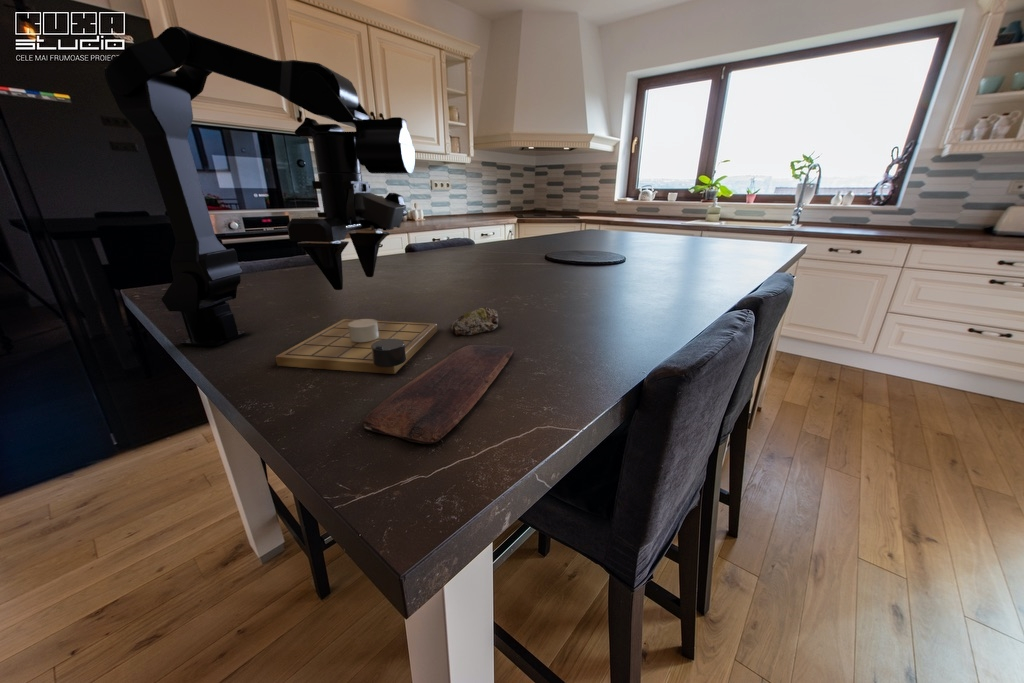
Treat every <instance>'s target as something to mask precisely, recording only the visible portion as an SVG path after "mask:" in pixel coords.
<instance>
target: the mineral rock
mask: <svg viewBox="0 0 1024 683" xmlns="http://www.w3.org/2000/svg"><path fill="white" fill-rule="evenodd" d="M499 323H500V322H499V315H498V311H497V310H496V309H493V308H491V309H490V308H489V307H484V308H483V307H478V308H476V309H474V310H473V311H467V312H465V313H463V315H461V316H459V317H458V318H457V319H455V321H453V322H452V324H451V325H450V328H451V332H452V333H453V334H455V336H472V335H478V334H480V333H485V332H492V331H495V330H496V328H498V325H499Z"/></svg>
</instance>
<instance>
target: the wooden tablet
mask: <svg viewBox="0 0 1024 683" xmlns="http://www.w3.org/2000/svg"><path fill="white" fill-rule="evenodd" d="M513 354H514V347H512V346H505V345H504V346H503V345H485V344H468V345H465V346H463V347H461V348H459V349H457V350H455V351H453V352H452V353H450V354H449V355H448V356H446V357H444V359H442V360H440V361H439V362H438V363H436V364H435V365H433V366H431V367H429V368H428V369H427V370H425V371H424V372H422V373H421V374H420V375H418V376H416V377H415V378H413V379H412V380H411V381H409V382H407V383H406V384H405V385H403V386H402V387H400V388H399V389H397V391H395V392H394V393H392V394H391V395H390V396H388V397H387V398H386V399H385V400H384V401H382V402H381V403H380V404H378V406H376V407H374V409H372V410H371V411H370V412H369V413H368V414H367V415H366V416H365V417H364V419H363V421H362V427H363V429H365V430H367V431H371V432H373V433H378V434H381V435H388V436H393V437H396V438H400V439H402V440H405V441H407V442H410V443H417V444H421V445H431V444H435V443H437V442H439V441H440V440H441V439H443V438H444V437H445V436H447V434H448V433H449V432H450V431H451V430H452V429H453V428H454V427H455V426H457V424H459V423H460V421H462V419H464V417H465V416H466V415H467V414H468V413H469V412H470V411H471V410H472V409H473V408H474V407H475V405H476V404H477V403H478V401H480V399H481V398H482V396H483V395H484V394H485V393H486V392H487V390H488V388H489V387H490V386H491V384H492V383H493V382H494V381H495V380H496V378H497V377H498V375H499V374H500V373H501V372H502V370H503V369H504V367H505V366H506V364H507V363H508V362H509V360H510V358H511V357H512V355H513Z"/></svg>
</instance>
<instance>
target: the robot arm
mask: <svg viewBox="0 0 1024 683" xmlns="http://www.w3.org/2000/svg"><path fill="white" fill-rule="evenodd" d="M174 70H175V71H174ZM212 73H215V74H217V75H220V76H223V77H226V78H230V79H233V80H236V81H239V82H241V83H245V84H248V85H251V86H254V87H257V88H260V89H263V90H266V91H270V92H271V93H275V94H277V95H279V96H281V97H282V98H284V99H285V100H287V101H289V102H290V103H292V104H294V105H295V106H297V107H299V108H301V109H303V110H305V111H307V112H309V113H311V114H313V115H316V116H318V117H321V118H325V119H328V120H331V121H334V122H336V123H319V122H318V121H317V120H316V119H314V118H310V117H307V116H306V117H304V119H303V122H302V123H301V124H300V125H299V126H298V127H297V128H296V129H295V130H294V134H295V136H296V137H300V138H305V139H309V140H312V146H313V152H314V159H315V165H316V170H317V177H318V180H312V181H311V182H312V189H313V190H320V196H321V203H322V209H323V211H320V212H317V216H304V217H296V218H291V219H290V220H289V222H288V224H287V225H286V228H287V234H288V239H289V241H290V242H297V243H296V245H297V247H298V248H302V249H303V250H304V251H305V253H306V254H307V255H308V256H309V257H310V258H311V260H312V261H313V262H314V263H315V265H316V266H317V268H319V270H320V271H321V273H322V274H323V275H324V277H325V278H326V280H327V281H328V282H329V284H330V286H331V287H332V289H333V290H335V291H342V290H343V289H344V276H343V258H342V257H343V256H342V254H343V252H344V250H345V249H346V248H347V246H348V244H349V241H347V240H346V241H345V239H346V237H347V234H348V236H349V237H350V240H351V243H352V245H353V248H354V250H355V253H356V255H357V258H358V260H359V264H360V266H361V268H362V271H363V272H364V275H365V277H366V278H374V275H375V270H376V264H377V258H378V253H379V249H380V245H381V243H382V242H383V241H384V240H385V239H386V238H387V237H388V236H390V235H391V231H392V230H394V229H395V228H398V229H400V228H401V224H402V222H403V221H402V220H403V217H406V216H407V215H408V211H407V210H406V209H407V205H406V204H405V199H404V195H401V194H399V193H396V192H389V193H388V194H387V195H386V196H383V195H377V194H375V193H372V187H371V184H370V183H369V181H363V175H362V168H361V166H363V167H365V169H366V171H367V172H368V173H370V174H379V175H380V174H385V175H386V174H389V175H390V174H413V172H414V170H415V166H416V165H415V164H416V151H415V146H413V141H412V137H411V134H410V132H409V130H408V123H407V120H406V119H405V118H403V117H400V116H398V117H397V116H396V117H389V118H377V119H374V118H373V119H372V117H371V116H370V114H369V113H368V111H366V109H365V108H364V107H363V105H362V104H361V103H360V102H359V95H358V92H357V89H356V88H355V86H354V83H353V82H352V81H351V80H350V79H349V78H348V77H345V76H344V75H341V74H340V73H338V72H336V71H334V70H333V69H331V68H329V67H327V66H325V65H323V64H321V63H319V62H314V61H305V60H297V59H289V60H279V59H272V58H269V57H266V56H263V55H261V54H257V53H254V52H251V51H248V50H246V49H242V48H240V47H236V46H233V45H230V44H227V43H224V42H221V41H218V40H214V39H212V38H209V37H205V36H202V35H200V34H197V33H195V32H193V31H191V30H188V29H187V28H184V27H182V26H169V27H167V28H165V29H164V30H163V31H161V33H160V34H159V35H157V36H156V37H153V38H150V39H148V40H143V41H141V42H138V43H135V44H131V45H129V46H128V47H126V48H125V49H124V50H123V51H122V52H120V53H119V54H118V55H115V56H113V57H112V59H110V60H109V62H108V65H107V66H105V67H104V78H105V82H106V84H107V87H108V89H109V91H110V94H111V95H112V98H113V99H114V102H115V104H116V106H117V109H119V112H120V113H121V114H122V115H123V116H124V117H125V118H126V119H127V120H128V121H129V123H130V124H131V125H132V127H134V128H135V129H136V131H138V133H139V134H140V136H141V137H142V139H143V142H144V145H145V149H146V151H147V154H148V158H149V161H150V164H151V167H152V170H153V174H154V176H155V178H156V179H155V180H156V183H157V186H158V189H159V192H160V195H161V199H162V201H163V204H164V207H165V210H166V214H167V216H168V219H169V223H170V226H171V229H172V232H173V235H174V238H175V245H174V248H173V252H172V254H171V258H170V268H171V271H172V272H171V274H172V279H173V280H172V282H171V283H170V285H169V286H168V288H167V290H166V291H165V293H164V294H163V295H162V297H161V302H162V303H163V304H164V307H165V308H166V309H167V311H168V312H173V313H180V314H181V317H182V320H183V322H184V327H185V329H186V332H187V336H188V338H187V339H184V340H182V341H180V344H181V346H191V347H192V346H193V347H209V348H216V347H218V346H221V345H223V344H225V343H228V342H230V341H233V340H234V339H237V338H239V337H241V336H245V335H246V333H245V331H244V330H238V327H237V324H236V323H237V322H236V320H235V315H234V313H233V311H232V309H231V306H230V302H228V301H230V300H235V299H237V293H238V286H239V285H240V284H241V278H242V277H241V274H243V273H244V271H243V269H242V268H241V266H240V263H239V260H238V253H237V251H236V249H235V248H228V249H227V248H226V247H225V246H224V245H223V244H222V243H221V242H220V241H219V239H218V238H217V236H216V233H215V231H214V227H213V223H212V219H211V216H210V213H209V209H208V206H207V202H206V198H205V196H204V192H203V188H202V185H201V182H200V178H199V175H198V170H197V168H196V163H195V161H194V158H193V153H192V150H191V147H190V143H189V138H188V136H189V133H190V129H191V126H192V124H193V120H194V113H193V105H192V101H193V100H194V99H196V97H198V96H199V95H200V94H202V93H203V91H204V89H205V85H206V82H207V79H208V77H209V76H210V75H211V74H212ZM338 123H340V124H342V125H346V126H349V127H351V128H354V129H355V131H345V130H344V129H343V128H342V126H340V124H338ZM348 232H349V233H348ZM343 240H344V241H343Z"/></svg>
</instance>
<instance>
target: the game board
mask: <svg viewBox="0 0 1024 683" xmlns="http://www.w3.org/2000/svg"><path fill="white" fill-rule="evenodd" d="M355 320H356V319H350V318H343V319H341V320H340V321H338V322H336V323H334V324H332V325H330V326H329V327H326V328H325V329H323V330H321V331H319V332H317V333H316V334H314V335H312V336H310V337H309V338H306V339H305V340H304V341H301V342H300V343H299V342H298V344H296V345H294V346H292V347H290V348H288V349H286V350H285V351H283V352H281V353H280V354H278V355H276V356H275V362H276V365H277V367H286V368H287V367H289V368H301V369H302V368H303V369H314V370H315V369H318V370H330V371H344V372H346V371H347V372H358V373H359V372H360V373H373V374H388V375H395V374H397V373H398V371H400V369H401V368H402V367H403V366H404V365H406V364H407V363H408V361H410V359H411V358H412V357H413V356H415V355H416V354H417V352H418V351H419V350H421V349H422V347H423V346H425V344H426V343H427V342H428V341H429V340H430V339H432V337H433V336H434V335H436V333H438V324H437V323H430V322H429V323H428V322H426V323H425V322H409V321H390V320H389V321H388V320H376V321H377V323H378V331H379V337H378V338H377V339H375V340H373V341H369V342H353V341H351V340H350V335H349V328H348V324H349V323H350V322H352V321H355ZM383 339H400V340H402V341H404V343H405V353H406V360H405V362H404V363H402V364H400V365H397V366H392V367H379V366H376V365H375V364H374V363H373V357H372V350H371V345H372V344H373V343H374V342H376V341H379V340H383Z"/></svg>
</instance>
